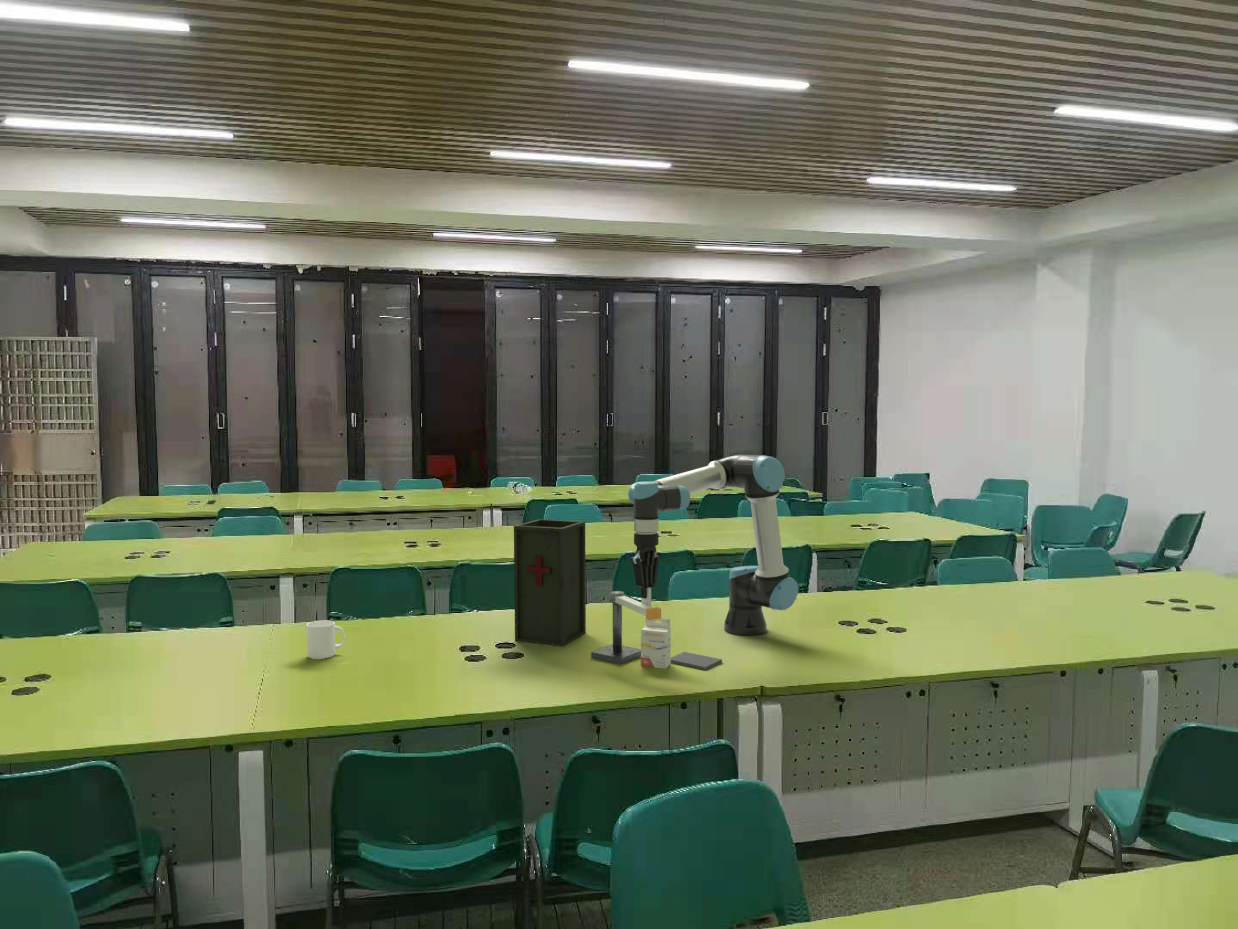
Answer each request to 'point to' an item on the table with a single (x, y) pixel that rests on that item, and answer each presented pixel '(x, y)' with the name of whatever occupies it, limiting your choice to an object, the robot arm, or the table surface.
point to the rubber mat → (695, 660)
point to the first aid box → (549, 582)
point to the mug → (322, 639)
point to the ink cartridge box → (656, 644)
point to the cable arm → (635, 605)
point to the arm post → (616, 643)
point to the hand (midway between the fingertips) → (646, 608)
